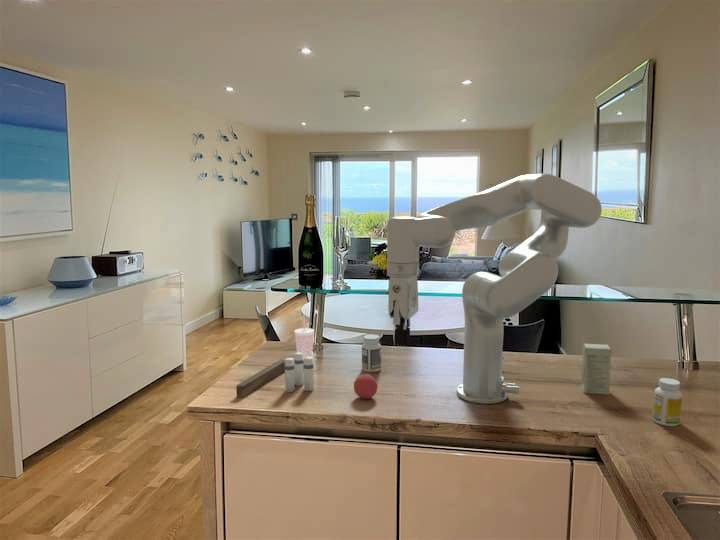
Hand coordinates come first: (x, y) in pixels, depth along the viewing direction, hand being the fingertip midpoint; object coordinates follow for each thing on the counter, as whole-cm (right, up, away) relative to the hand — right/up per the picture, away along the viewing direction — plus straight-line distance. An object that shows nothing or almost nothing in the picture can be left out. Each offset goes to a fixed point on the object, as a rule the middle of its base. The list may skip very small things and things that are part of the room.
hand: (402, 343), depth 125 cm
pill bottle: (-7, -12, +27) cm, 30 cm away
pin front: (-24, -14, +11) cm, 30 cm away
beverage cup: (-28, -10, +37) cm, 47 cm away
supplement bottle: (+59, -17, -8) cm, 62 cm away
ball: (-9, -11, +5) cm, 15 cm away
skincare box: (+51, -14, +10) cm, 54 cm away
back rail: (-37, -13, +17) cm, 42 cm away
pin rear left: (-29, -14, +11) cm, 34 cm away
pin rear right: (-27, -13, +15) cm, 34 cm away
